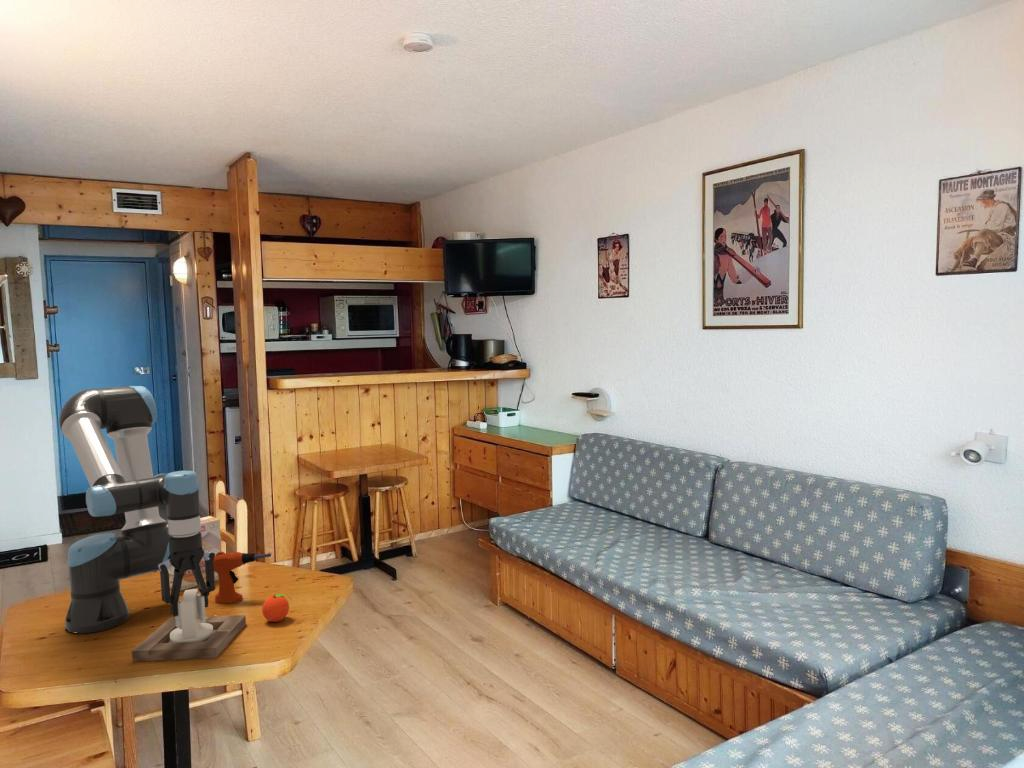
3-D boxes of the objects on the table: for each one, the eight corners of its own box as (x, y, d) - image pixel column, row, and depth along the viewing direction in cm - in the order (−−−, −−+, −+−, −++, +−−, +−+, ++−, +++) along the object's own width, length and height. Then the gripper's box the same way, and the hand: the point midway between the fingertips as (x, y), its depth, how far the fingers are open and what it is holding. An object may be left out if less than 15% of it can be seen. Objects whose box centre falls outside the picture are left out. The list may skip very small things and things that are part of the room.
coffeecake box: (177, 592, 219) (172, 529, 218) (166, 587, 224) (162, 525, 223) (224, 578, 231) (220, 518, 229) (213, 574, 235) (209, 515, 234)
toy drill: (275, 598, 207) (265, 547, 206) (212, 606, 209) (203, 556, 208) (281, 592, 212) (272, 542, 211) (220, 600, 214) (211, 551, 213)
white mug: (211, 642, 179) (208, 599, 179) (167, 649, 176) (164, 605, 176) (216, 621, 193) (213, 581, 192) (175, 627, 190) (172, 586, 189)
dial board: (132, 661, 173) (131, 650, 172) (170, 627, 193) (169, 617, 192) (216, 658, 173) (215, 647, 173) (245, 624, 193) (245, 614, 193)
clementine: (286, 612, 200) (285, 587, 200) (298, 619, 195) (296, 593, 195) (258, 621, 195) (256, 595, 194) (269, 628, 190) (268, 601, 189)
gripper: (214, 523, 190) (219, 609, 191) (141, 538, 177) (148, 631, 179) (226, 528, 184) (232, 617, 186) (152, 544, 172) (159, 639, 173)
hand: (191, 623), depth 182 cm, fingers closed on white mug, 5 cm apart
